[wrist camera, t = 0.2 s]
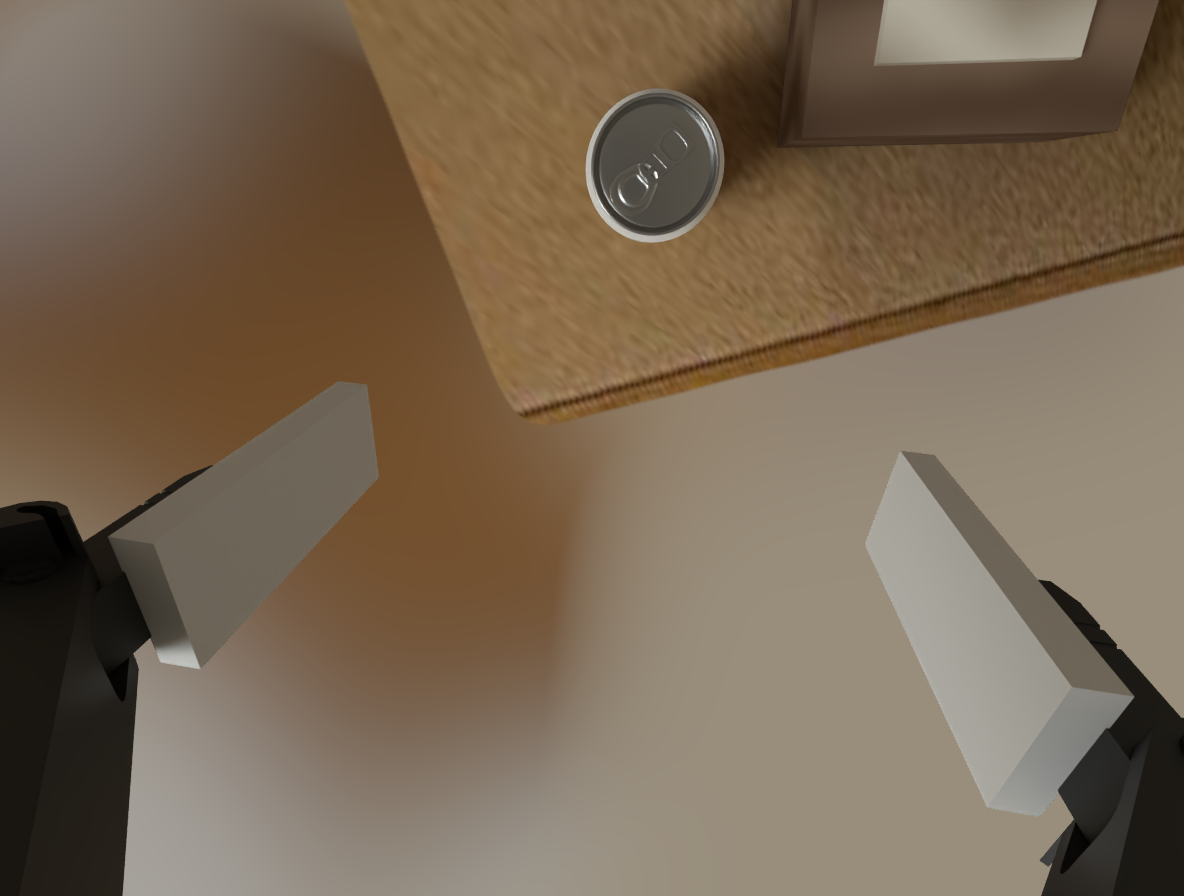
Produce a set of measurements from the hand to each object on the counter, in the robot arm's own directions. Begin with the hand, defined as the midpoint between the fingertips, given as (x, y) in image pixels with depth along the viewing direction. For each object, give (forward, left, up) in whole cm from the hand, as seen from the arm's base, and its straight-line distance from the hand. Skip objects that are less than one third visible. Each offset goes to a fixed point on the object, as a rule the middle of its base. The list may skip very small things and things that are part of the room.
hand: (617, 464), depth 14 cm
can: (-7, +1, -27) cm, 28 cm away
